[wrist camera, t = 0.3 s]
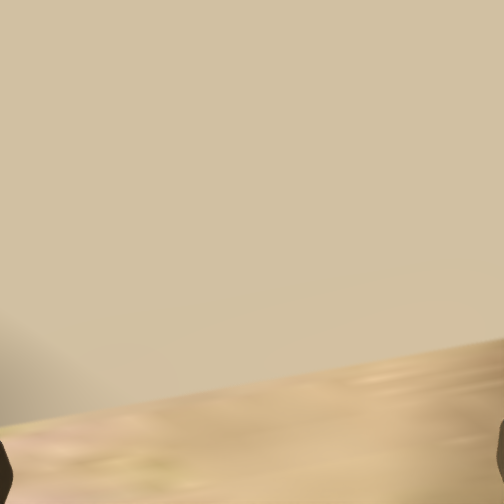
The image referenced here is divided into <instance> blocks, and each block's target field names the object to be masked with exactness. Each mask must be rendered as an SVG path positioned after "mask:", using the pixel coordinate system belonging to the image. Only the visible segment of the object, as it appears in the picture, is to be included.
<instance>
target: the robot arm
mask: <svg viewBox="0 0 504 504" xmlns="http://www.w3.org/2000/svg"><path fill="white" fill-rule="evenodd" d="M497 464H498V468H499V471H500V474H501V477H502V480H503V482H504V420H503V421H502V422H501V425H500V431H499V439H498V447H497ZM12 482H13V470H12V467H11V465H10V462H9V459H8V457H7V454H6V451H5V449H4V446H3V444H2V442H1V441H0V504H5V501H6V499H7V496H8V494H9V491H10V488H11V485H12Z"/></svg>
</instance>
